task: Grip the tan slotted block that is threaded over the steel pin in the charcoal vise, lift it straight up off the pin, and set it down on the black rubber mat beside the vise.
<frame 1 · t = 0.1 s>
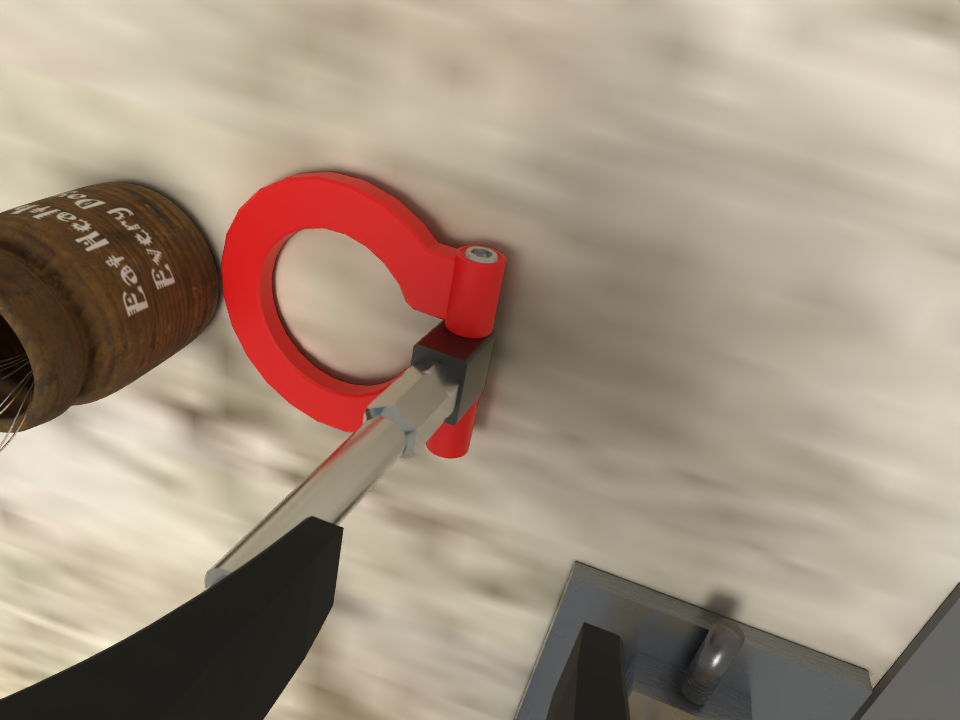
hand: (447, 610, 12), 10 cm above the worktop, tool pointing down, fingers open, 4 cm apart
utensil holder: (151, 259, 24), on the worktop
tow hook: (363, 306, 22), on the worktop, touching gripper
vise: (658, 717, 27), on the worktop
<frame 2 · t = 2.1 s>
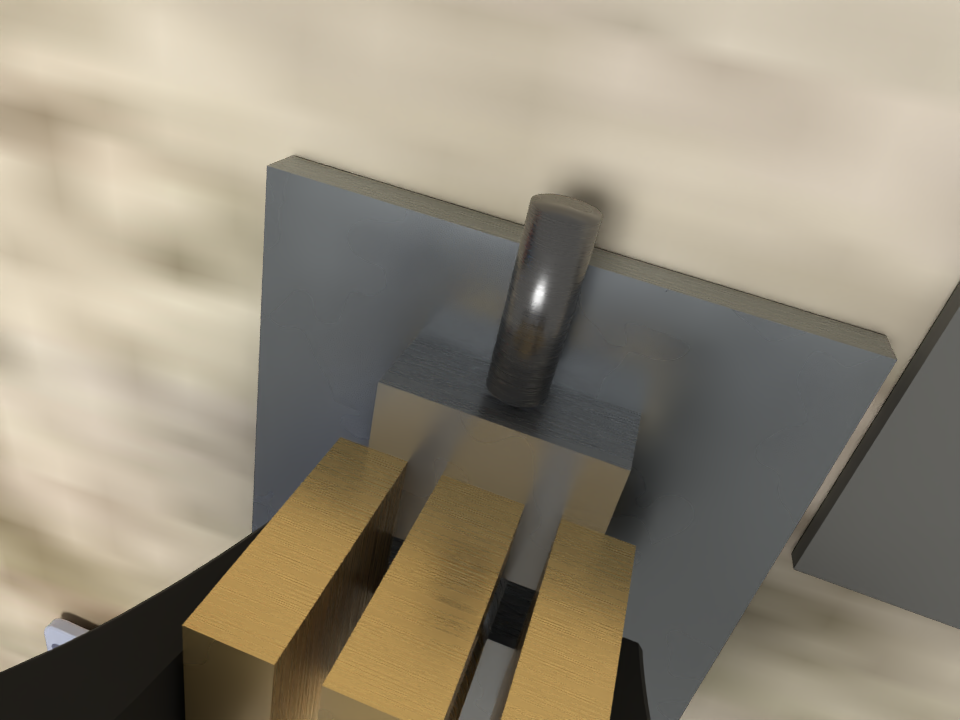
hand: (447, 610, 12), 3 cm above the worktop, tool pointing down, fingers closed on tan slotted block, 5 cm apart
vise: (492, 508, 14), on the worktop
tan slotted block: (455, 593, 12), point 2 cm above the worktop, touching gripper, vise
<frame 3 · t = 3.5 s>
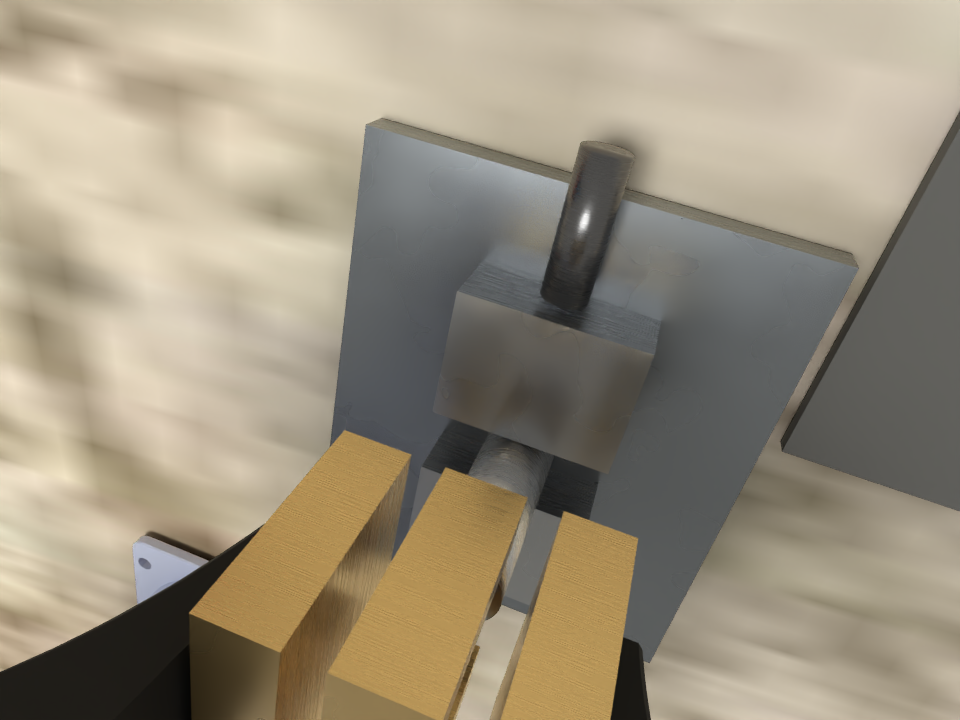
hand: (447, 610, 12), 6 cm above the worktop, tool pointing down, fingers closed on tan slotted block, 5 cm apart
vise: (534, 413, 17), on the worktop
tan slotted block: (457, 586, 12), point 6 cm above the worktop, touching gripper
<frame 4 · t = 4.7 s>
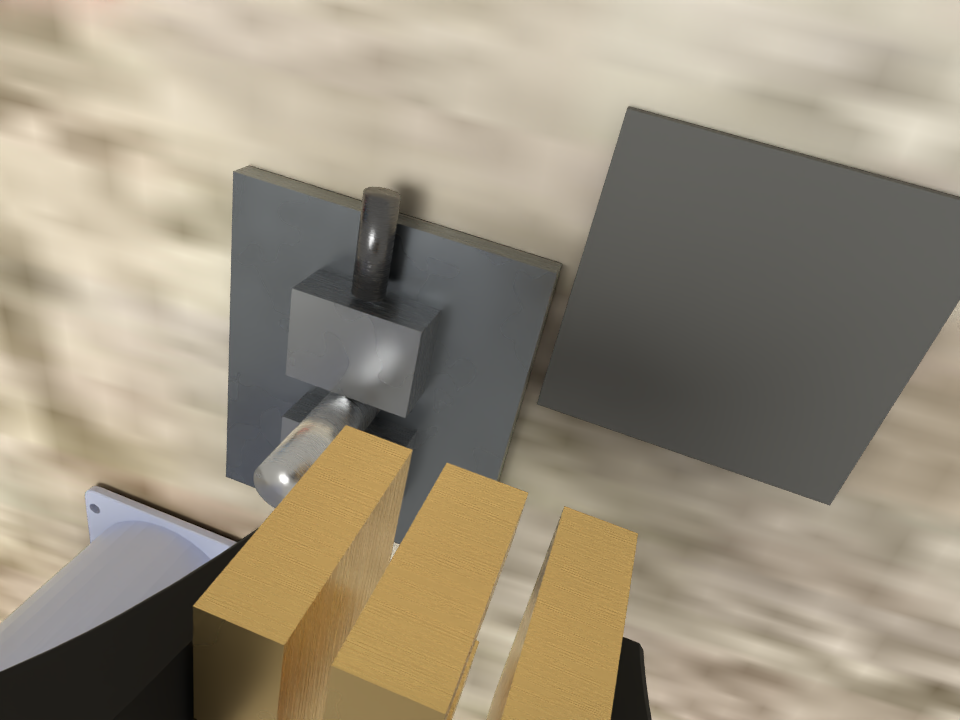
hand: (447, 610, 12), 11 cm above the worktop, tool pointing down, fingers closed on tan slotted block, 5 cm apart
mat: (737, 318, 19), on the worktop
vise: (374, 380, 24), on the worktop
tan slotted block: (457, 581, 13), point 10 cm above the worktop, touching gripper
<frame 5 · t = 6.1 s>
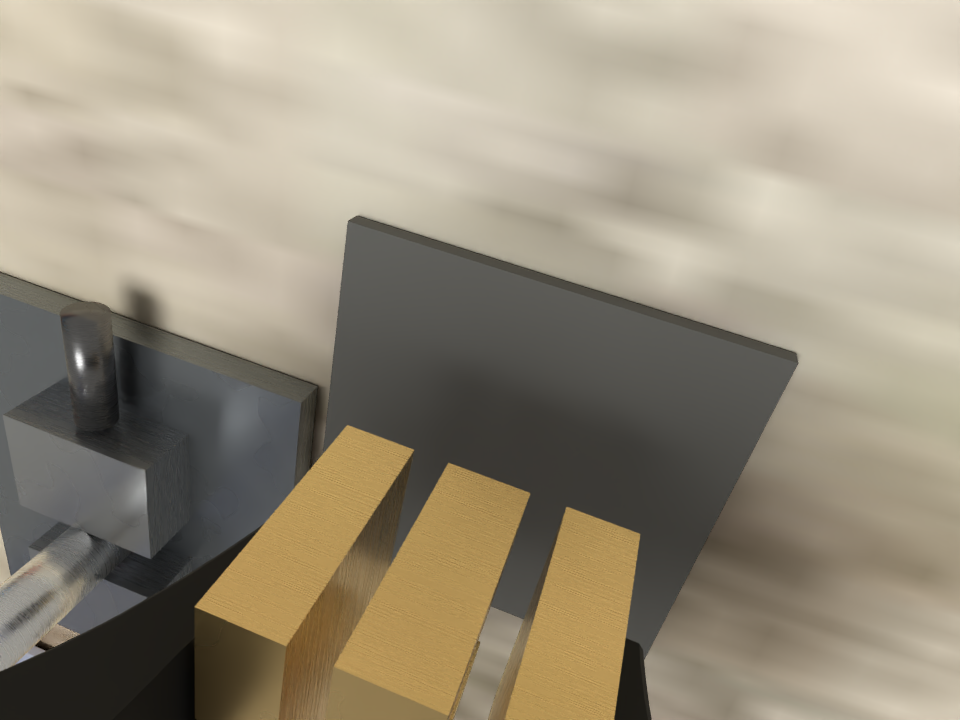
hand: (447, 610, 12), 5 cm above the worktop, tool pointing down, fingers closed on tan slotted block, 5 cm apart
mat: (514, 456, 16), on the worktop
vise: (149, 497, 21), on the worktop
tan slotted block: (459, 581, 12), point 4 cm above the worktop, touching gripper
when the fingers open (2 cm above the worktop, at t = 7.2 s): tan slotted block stays where it is, resting on mat.
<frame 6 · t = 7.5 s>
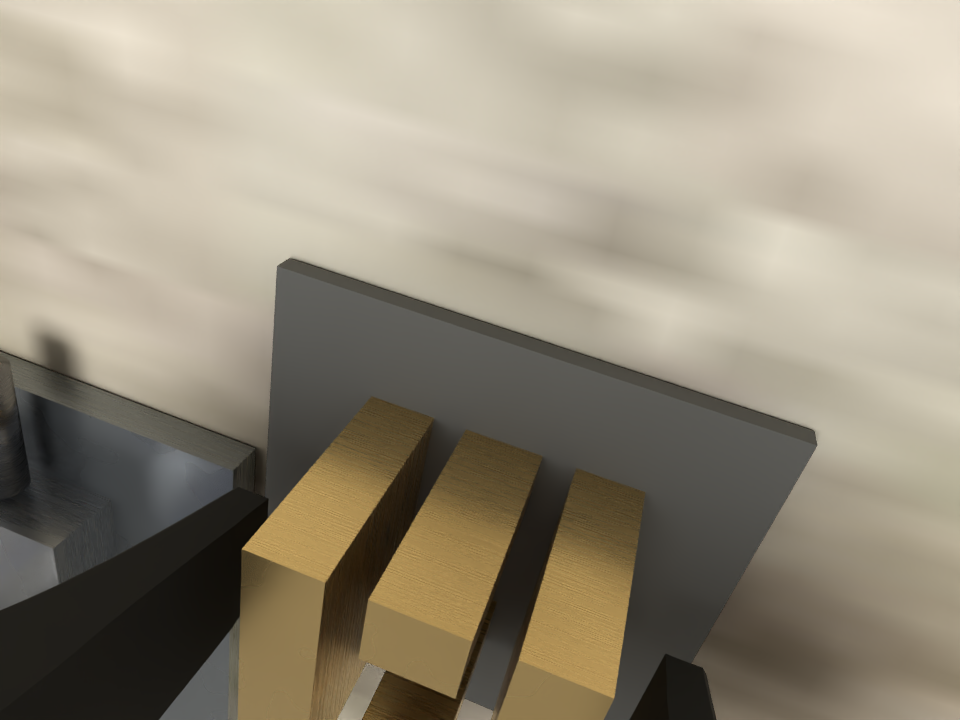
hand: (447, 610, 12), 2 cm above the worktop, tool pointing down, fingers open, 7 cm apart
mat: (481, 533, 14), on the worktop
vise: (79, 559, 18), on the worktop
tan slotted block: (476, 544, 13), resting on mat
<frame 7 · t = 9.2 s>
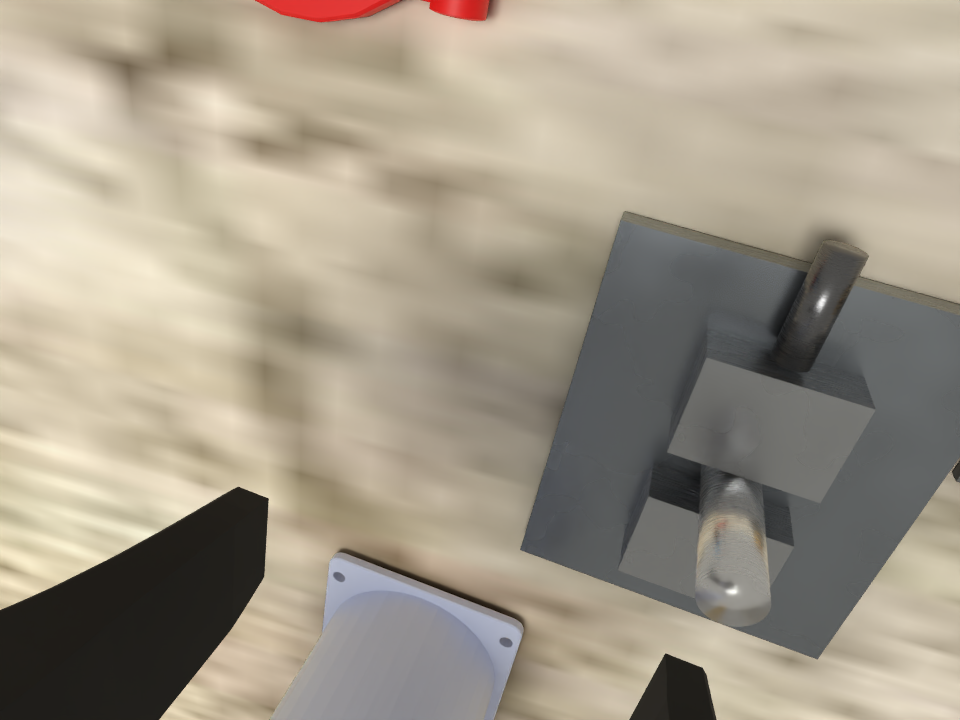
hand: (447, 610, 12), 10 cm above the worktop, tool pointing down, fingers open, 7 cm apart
vise: (730, 449, 21), on the worktop
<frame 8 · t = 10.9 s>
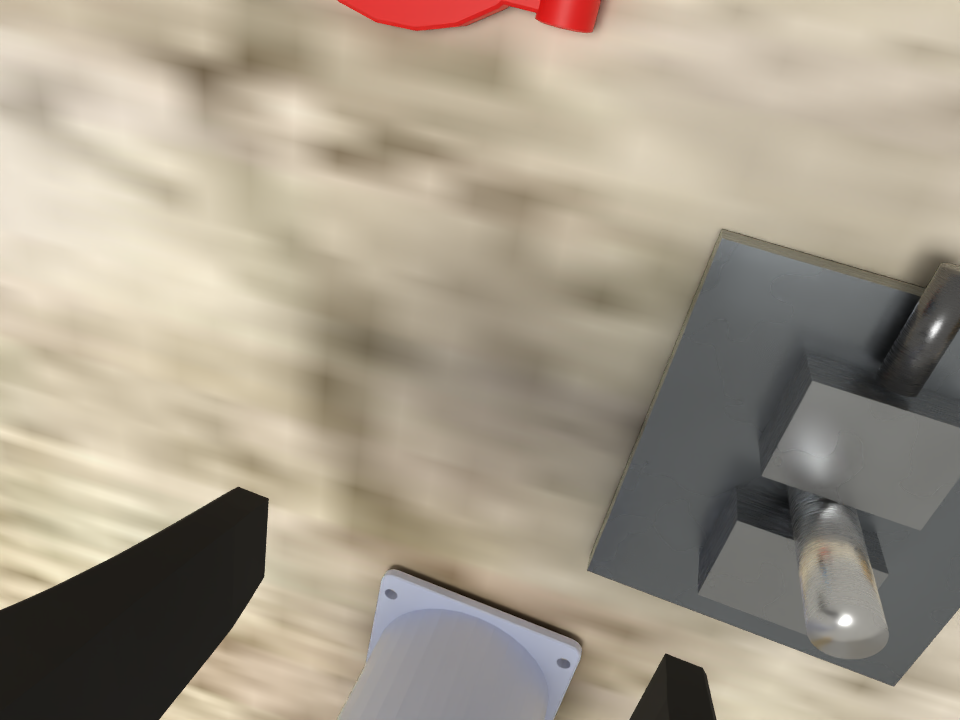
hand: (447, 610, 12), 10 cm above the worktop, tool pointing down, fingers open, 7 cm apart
vise: (814, 471, 20), on the worktop
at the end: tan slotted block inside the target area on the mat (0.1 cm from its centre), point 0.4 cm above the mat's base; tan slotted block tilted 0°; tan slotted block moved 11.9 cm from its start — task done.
